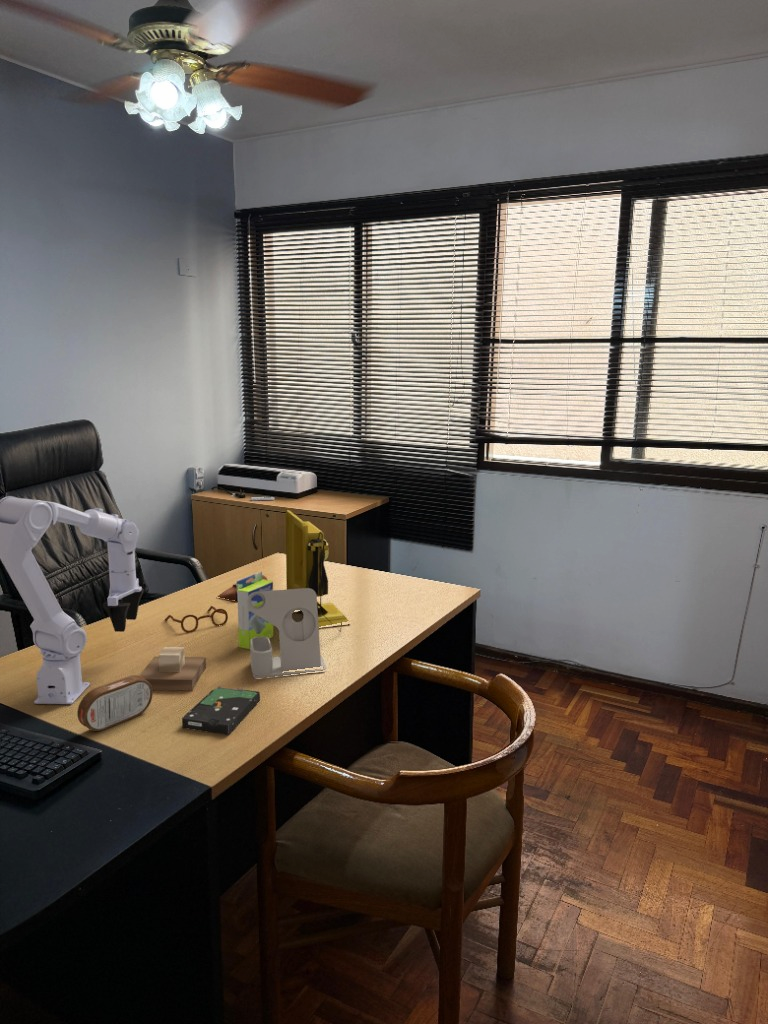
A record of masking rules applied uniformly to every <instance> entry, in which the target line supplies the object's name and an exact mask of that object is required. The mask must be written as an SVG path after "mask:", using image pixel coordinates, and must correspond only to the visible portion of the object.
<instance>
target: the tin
mask: <svg viewBox="0 0 768 1024" xmlns="http://www.w3.org/2000/svg"><path fill="white" fill-rule="evenodd" d="M153 691H154V690H152V686H151V684H150V683H149V682H148V681H147V680H145V679H144V678H143V677H141V676H140V675H137V674H132V675H129V676H126V677H123V678H121V679H117V680H115V681H114V680H113V681H111V682H108V683H105V684H103V685H99V686H96V687H94V688H93V689H91V690H89V691H88V692H87V693H86V694H85V695H84V696H83V697H82V699H81V700H80V701H79V704H78V707H77V712H76V715H77V719H78V721H79V723H80V724H81V725H82V726H83V727H85V728H87V729H88V730H90V731H95V732H101V731H104V730H107V729H110V728H112V727H114V726H117V725H120V724H122V723H124V722H127V721H129V720H132V719H134V718H136V717H139V716H141V715H142V714H144V712H145V711H146V710H147V709H148V708H149V706H150V705H151V702H152V700H153V699H152V698H153V693H154V692H153Z"/></svg>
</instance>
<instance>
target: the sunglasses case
mask: <svg viewBox="0 0 768 1024" xmlns="http://www.w3.org/2000/svg"><path fill="white" fill-rule="evenodd" d="M262 579H264V580H268V578H267V577H266V576H265V575H264V574H262ZM251 581H253V578H252V579H251V578H250V579H249V580H247V581H246V583H248V582H251ZM217 597H220V598H225V599H229V600H235V601H238V597H237V582H236V583H233V584H232V586H230V587H229V588H227V589H225V590H224V591H222V593H220V594H219V595H217V596H216V598H217ZM229 600H228V601H229ZM235 601H234V602H235Z"/></svg>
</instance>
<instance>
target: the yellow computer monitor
mask: <svg viewBox="0 0 768 1024" xmlns="http://www.w3.org/2000/svg"><path fill="white" fill-rule="evenodd" d="M324 535H325V533H324V532H323V531H322V530H320V529H319V528H318V527H317V526H315V525H314V524H313V523H311V521H303V519H301V518H299V517H298V516H297V515H296V514H295V513H293V512H292V511H291V510H290V509H289V510H288V509H287V510H285V549H286V550H285V561H286V562H285V564H286V566H285V567H286V569H285V570H286V572H285V574H286V575H285V576H286V580H285V581H286V590H287V589H302V588H310V589H313V590H314V591H315V593H316V595H317V598H318V597H319V600H317V610H318V626H319V627H321V626H326V625H332V624H337V623H341V626H340V627H343V626H342V622H347V621H349V619H348V618H347V616H345V614H343V613H342V611H341V610H340V609H338V607H337V606H336V605H335V604H334V603H333V602H327V603H326V602H325V603H322V597H323V596H327V595H329V579H328V576H327V571H326V567H325V563H324V562H325V561H326V560H328V558H329V554H330V552H329V543H328V542H327V540H326V539H325V537H324ZM303 618H304V614H303V613H302V619H303ZM339 632H340V633H341V632H342V628H340V630H339Z"/></svg>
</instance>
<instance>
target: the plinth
mask: <svg viewBox="0 0 768 1024" xmlns="http://www.w3.org/2000/svg"><path fill="white" fill-rule="evenodd" d="M206 659H207V658H206V657H205V656H200V657H199V656H185V664H184V666H183V668H182V669H181V671H180V672H160V671H159V656H154V657H153V658H152V659H151V660H149V661H150V662H149V663H148V664H147V665H146V666H145V668H144V669H143V670H142V672H141V673H140V674H139V676H141V677H143V678H144V679H145V680H147V681H148V682H149V683H150V684H151V686H152V691H193V690H194V689H195V686H197V684H198V682H199V680H200V678H201V676H202V675H203V673H204V672H205V670H206V668H207V660H206Z"/></svg>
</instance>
